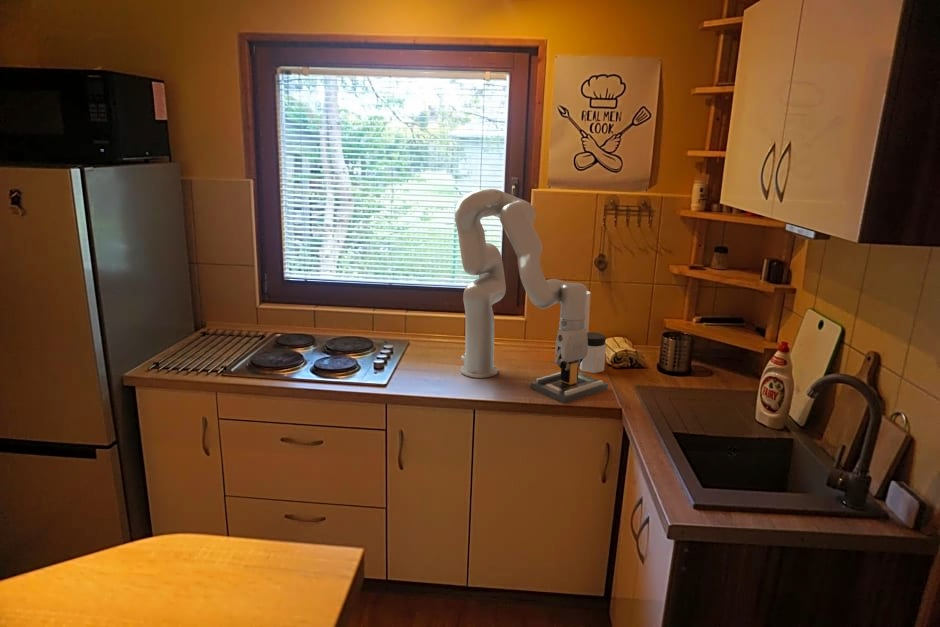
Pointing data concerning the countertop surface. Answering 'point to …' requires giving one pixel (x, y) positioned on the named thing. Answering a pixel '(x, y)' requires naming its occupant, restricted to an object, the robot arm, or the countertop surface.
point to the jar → (594, 353)
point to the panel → (568, 388)
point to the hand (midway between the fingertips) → (569, 379)
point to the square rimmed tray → (571, 391)
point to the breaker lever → (572, 372)
